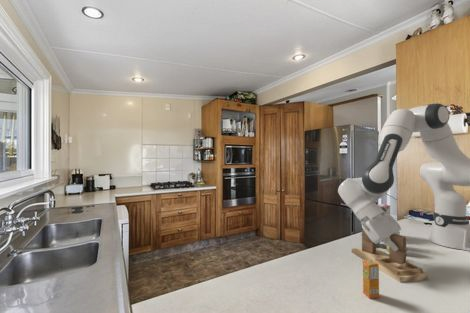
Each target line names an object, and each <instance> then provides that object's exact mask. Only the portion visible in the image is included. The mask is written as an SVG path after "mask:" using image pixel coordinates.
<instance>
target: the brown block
mask: <svg viewBox="0 0 470 313" xmlns="http://www.w3.org/2000/svg"><path fill="white" fill-rule="evenodd" d="M390 239H391V241H392V242H393V243H394V244H397V246H398V247H399V249H398V250H396V251H393V250H392V248H391V247H389V246H388V245H386V248H387V247H388V248H389V252H388V253H389V261H392V262H395V263H398V264H401V265H403V264H404V263H405V262H406V261H407V236H406V235H401V234H400V235H398V234H392V235H391V236H390Z"/></svg>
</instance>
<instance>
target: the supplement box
mask: <svg viewBox="0 0 470 313" xmlns="http://www.w3.org/2000/svg"><path fill="white" fill-rule="evenodd" d="M379 272H380V269H379V265H378V263H376V262H374V261H373V260H363V259H362V293H363V294H364V295H365V297H367V298H368V299H379V298H380V276H379V274H380V273H379Z"/></svg>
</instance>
